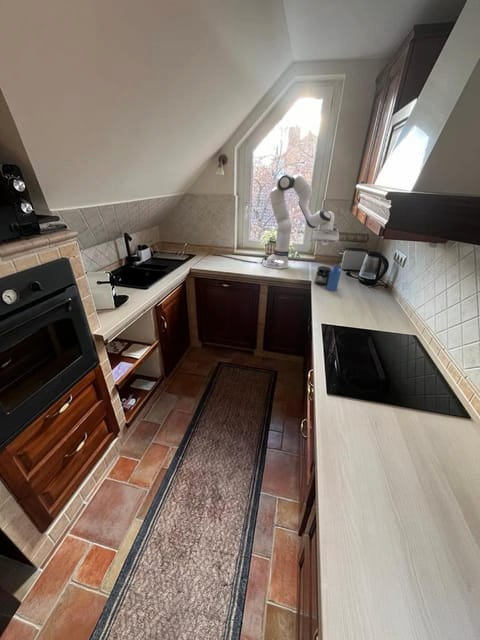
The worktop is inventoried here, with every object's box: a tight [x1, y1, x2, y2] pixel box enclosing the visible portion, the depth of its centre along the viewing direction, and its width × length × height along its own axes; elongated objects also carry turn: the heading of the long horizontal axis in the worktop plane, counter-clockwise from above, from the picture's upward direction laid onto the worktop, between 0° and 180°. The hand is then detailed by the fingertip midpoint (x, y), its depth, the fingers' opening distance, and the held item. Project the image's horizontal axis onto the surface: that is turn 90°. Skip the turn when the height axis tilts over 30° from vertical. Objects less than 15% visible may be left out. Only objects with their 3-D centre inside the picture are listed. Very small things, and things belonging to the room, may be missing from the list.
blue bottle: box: [326, 263, 342, 292], centre depth 179 cm, size 7×7×18 cm
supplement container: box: [314, 265, 332, 286], centre depth 190 cm, size 10×10×12 cm
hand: (324, 245), depth 202 cm, fingers closed
